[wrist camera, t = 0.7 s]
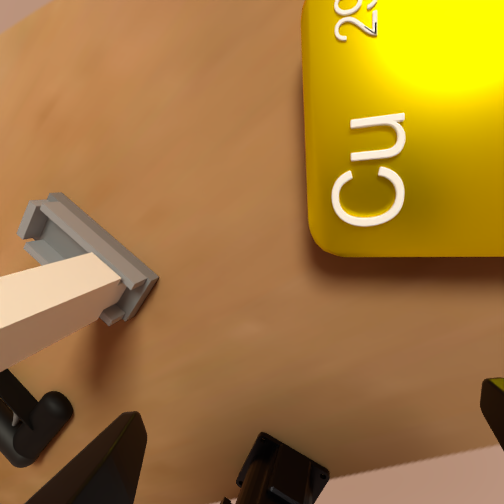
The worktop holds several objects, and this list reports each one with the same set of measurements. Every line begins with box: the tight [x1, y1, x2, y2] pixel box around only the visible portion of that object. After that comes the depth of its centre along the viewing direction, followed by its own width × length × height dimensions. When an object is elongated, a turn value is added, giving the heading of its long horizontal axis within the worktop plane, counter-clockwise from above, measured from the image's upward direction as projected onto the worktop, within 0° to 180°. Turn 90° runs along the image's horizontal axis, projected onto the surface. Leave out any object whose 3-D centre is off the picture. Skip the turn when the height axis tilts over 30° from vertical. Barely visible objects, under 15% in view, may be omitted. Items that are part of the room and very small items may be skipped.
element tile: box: [301, 0, 504, 257], centre depth 17 cm, size 15×15×5 cm
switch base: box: [17, 193, 159, 326], centre depth 27 cm, size 12×5×3 cm, turn 53°
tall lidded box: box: [0, 252, 127, 372], centre depth 21 cm, size 4×5×13 cm
